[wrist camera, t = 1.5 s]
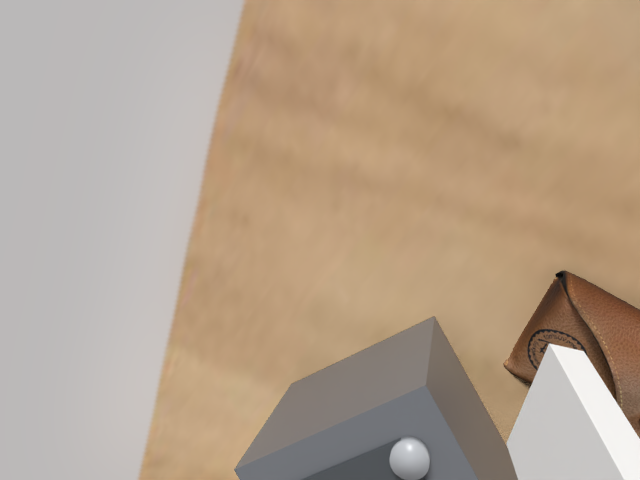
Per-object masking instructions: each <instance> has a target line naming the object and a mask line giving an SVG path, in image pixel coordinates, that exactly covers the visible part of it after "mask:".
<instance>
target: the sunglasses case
mask: <svg viewBox="0 0 640 480" xmlns="http://www.w3.org/2000/svg"><path fill="white" fill-rule="evenodd" d="M549 344H554V345H558V346H563V347H567V348H572V349H576V350H580V351H584V352H585V354H586V355H587V357H588V358H589V360H590V362H591V363H592V365H593V366H594V368H595V369H596V371H597V373H598V374H599V376H600V377H601V379H602V380H603V382H604V384H605V385H606V387H607V388H608V390H609V391H610V393H611V395H612V396H613V398H614V399H615V401H616V402H617V404H618V406H619V407H620V409H621V410H622V412H623V413H624V415H625V417H626V418H627V420H628V421H629V423H630V424H631V426H632V428H633V429H634V431H635V432H636V434H637V435H638V437H639V439H640V310H639V309H637V308H635V307H634V306H632V305H630V304H628V303H627V302H625V301H623V300H621V299H619V298H617V297H615V296H614V295H612V294H610V293H608V292H606V291H605V290H603V289H601V288H599V287H598V286H596V285H594V284H592V283H590V282H588V281H586V280H585V279H582V278H580V277H578V276H576V275H574V274H572V273H569V272H567V271H560V272H559V273H557V274H556V279H554V281H553V283H552V284H551V286H550V288H549V289H548V291H547V292H546V294H545V296H544V297H543V299H542V301H541V302H540V304H539V306H538V307H537V309H536V311H535V313H534V314H533V316H532V317H531V319H530V321H529V322H528V324H527V326H526V327H525V329H524V331H523V332H522V334H521V336H520V337H519V339H518V341H517V343H516V344H515V347H514V348H513V351H512V353H511V355H510V357H509V358H508V360H506V361H505V363H504V367H505V368H506V369H507V370H509V371H510V372H511V373H513V374H514V375H516V376H518V377H519V378H522V379H523V380H525V381H527V382H529V383H530V384H532V383H533V380H534V378H535V375H536V373H537V371H538V368H539V366H540V364H541V361H542V359H543V357H544V354H545V352H546V350H547V347H548V345H549Z"/></svg>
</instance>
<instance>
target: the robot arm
mask: <svg viewBox="0 0 640 480" xmlns="http://www.w3.org/2000/svg"><path fill="white" fill-rule="evenodd" d="M506 444H507V447H508V450H509V453H510V456H511V459H512V462H513V465H514V468H515V472H516V475H517V478H518V480H640V439H639V437H638V435H637V434H636V432H635V431H634V429H633V428H632V426H631V424H630V423H629V421H628V420H627V418H626V417H625V415H624V413H623V412H622V410H621V409H620V407H619V406H618V404H617V402H616V401H615V399H614V398H613V396H612V395H611V393H610V391H609V390H608V388H607V387H606V385H605V384H604V382H603V380H602V379H601V377H600V376H599V374H598V373H597V371H596V369H595V368H594V366H593V365H592V363H591V362H590V360H589V358H588V357H587V355H586V354H585V352H584V351H580V350H576V349H572V348H567V347H563V346H558V345H554V344H549V345H548V347H547V350H546V352H545V354H544V357H543V359H542V361H541V364H540V366H539V368H538V371H537V373H536V375H535V378H534V380H533V383H532V385H531V387H530V390H529V392H528V394H527V397H526V399H525V401H524V404H523V406H522V408H521V411H520V413H519V415H518V418H517V420H516V422H515V425H514V427H513V429H512V432H511V434H510V436H509V439H508V441H507V443H506Z"/></svg>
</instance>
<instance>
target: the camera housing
mask: <svg viewBox="0 0 640 480" xmlns="http://www.w3.org/2000/svg"><path fill="white" fill-rule="evenodd" d="M234 470H235V472H236V474H237V476H238V477H239V479H240V480H518V478H517V475H516V472H515V468H514V465H513V462H512V459H511V456H510V453H509V450H508V448H507V446H506V444H505V443H504V441H503V439H502V437H501V435H500V434H499V432H498V430H497V428H496V426H495V425H494V423H493V421H492V419H491V417H490V415H489V414H488V412H487V410H486V408H485V406H484V405H483V403H482V401H481V399H480V397H479V396H478V394H477V392H476V390H475V388H474V387H473V385H472V383H471V381H470V379H469V378H468V376H467V374H466V372H465V370H464V369H463V367H462V365H461V363H460V361H459V360H458V358H457V356H456V354H455V352H454V351H453V349H452V347H451V345H450V343H449V342H448V340H447V338H446V336H445V334H444V332H443V331H442V329H441V327H440V325H439V323H438V322H437V320H436V318H435V316H434V317H432V318H430V319H428V320H426V321H423V322H421V323H419V324H417V325H415V326H413V327H411V328H409V329H407V330H404V331H402V332H400V333H398V334H396V335H394V336H392V337H390V338H388V339H385V340H383V341H381V342H379V343H377V344H375V345H373V346H371V347H369V348H366V349H364V350H362V351H360V352H358V353H356V354H354V355H352V356H350V357H347V358H345V359H343V360H341V361H339V362H337V363H335V364H333V365H331V366H329V367H326V368H324V369H322V370H320V371H318V372H316V373H314V374H312V375H310V376H307V377H305V378H303V379H301V380H299V381H297V382H295V383H293V384H291V385H290V387H289V388H288V390H287V391H286V393H285V394H284V396H283V397H282V399H281V400H280V402H279V403H278V405H277V406H276V408H275V409H274V411H273V412H272V414H271V415H270V417H269V418H268V420H267V421H266V423H265V424H264V426H263V427H262V429H261V430H260V432H259V433H258V435H257V436H256V438H255V439H254V441H253V442H252V444H251V445H250V447H249V448H248V450H247V451H246V453H245V454H244V456H243V457H242V459H241V460H240V462H239V463H238V465H237V466H236V468H235V469H234Z"/></svg>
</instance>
